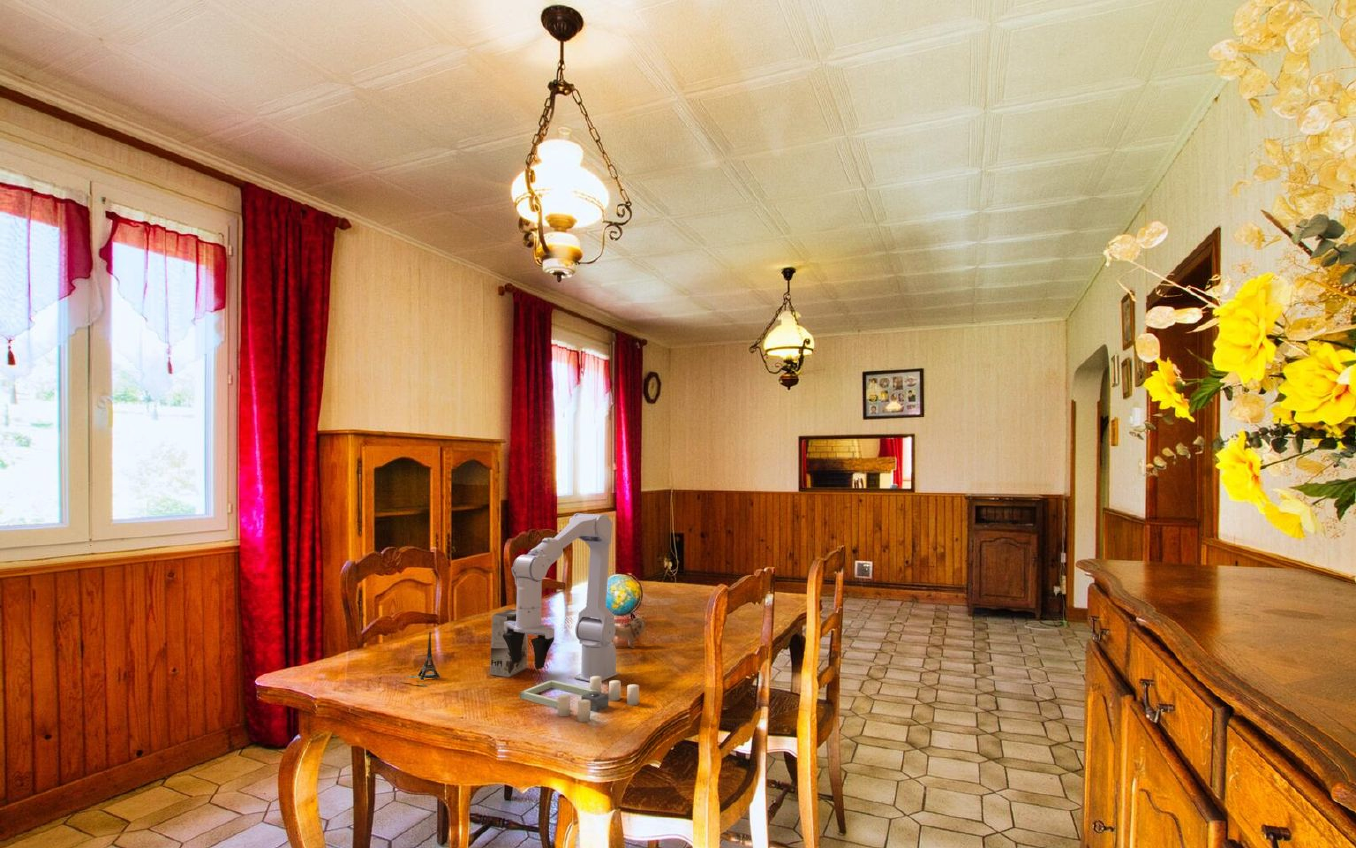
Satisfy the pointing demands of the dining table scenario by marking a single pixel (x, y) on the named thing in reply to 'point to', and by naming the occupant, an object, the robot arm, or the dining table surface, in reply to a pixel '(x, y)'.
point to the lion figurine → (631, 630)
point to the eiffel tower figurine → (427, 666)
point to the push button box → (596, 700)
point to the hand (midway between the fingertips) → (527, 665)
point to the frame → (532, 692)
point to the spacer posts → (596, 685)
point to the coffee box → (505, 647)
